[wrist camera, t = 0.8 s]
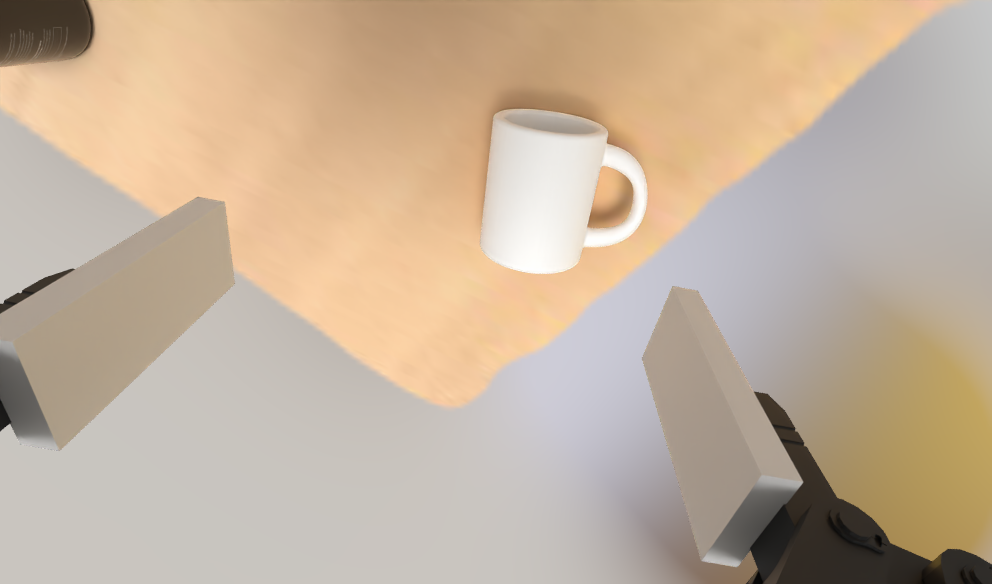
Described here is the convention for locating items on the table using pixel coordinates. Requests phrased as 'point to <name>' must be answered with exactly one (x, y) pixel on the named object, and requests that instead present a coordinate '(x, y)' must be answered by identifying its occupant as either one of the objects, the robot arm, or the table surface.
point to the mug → (550, 190)
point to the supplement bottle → (42, 30)
